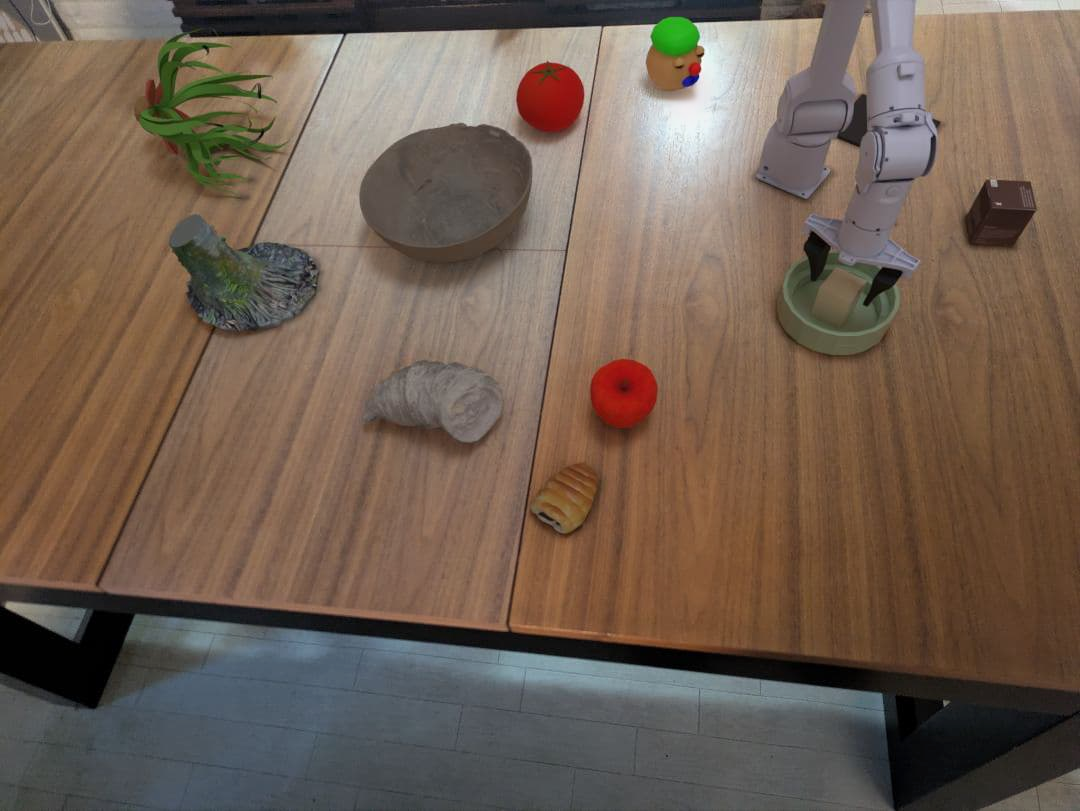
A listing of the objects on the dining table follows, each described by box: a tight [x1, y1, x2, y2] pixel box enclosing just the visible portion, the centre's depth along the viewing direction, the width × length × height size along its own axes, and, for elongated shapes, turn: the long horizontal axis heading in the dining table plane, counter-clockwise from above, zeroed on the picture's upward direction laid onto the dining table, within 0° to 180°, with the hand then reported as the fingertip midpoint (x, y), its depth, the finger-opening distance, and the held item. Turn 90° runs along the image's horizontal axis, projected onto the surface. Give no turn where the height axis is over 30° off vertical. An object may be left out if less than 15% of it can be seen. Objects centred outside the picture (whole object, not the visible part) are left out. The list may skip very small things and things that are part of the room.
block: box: [810, 267, 867, 329], centre depth 98 cm, size 4×4×6 cm
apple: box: [589, 358, 659, 429], centre depth 93 cm, size 9×9×8 cm
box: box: [965, 179, 1038, 247], centre depth 103 cm, size 6×6×7 cm
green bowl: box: [776, 249, 901, 356], centre depth 99 cm, size 15×15×5 cm
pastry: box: [530, 461, 599, 534], centre depth 89 cm, size 9×7×4 cm
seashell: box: [361, 359, 505, 444], centre depth 94 cm, size 16×15×10 cm
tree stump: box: [168, 213, 320, 332], centre depth 109 cm, size 18×20×18 cm
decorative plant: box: [133, 28, 290, 197], centre depth 125 cm, size 26×25×30 cm
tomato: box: [515, 59, 585, 133], centre depth 125 cm, size 11×12×10 cm
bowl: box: [358, 122, 534, 264], centre depth 114 cm, size 28×28×10 cm
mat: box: [836, 93, 941, 148], centre depth 119 cm, size 14×12×1 cm
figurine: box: [645, 16, 706, 92], centre depth 126 cm, size 11×10×12 cm
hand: (841, 288), depth 96 cm, fingers open, 7 cm apart
